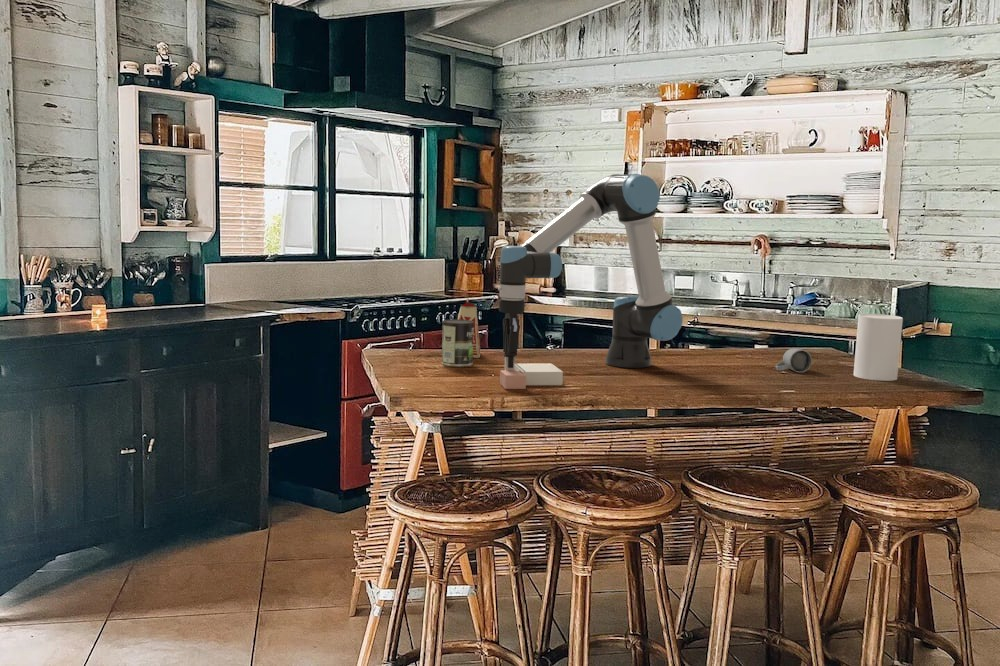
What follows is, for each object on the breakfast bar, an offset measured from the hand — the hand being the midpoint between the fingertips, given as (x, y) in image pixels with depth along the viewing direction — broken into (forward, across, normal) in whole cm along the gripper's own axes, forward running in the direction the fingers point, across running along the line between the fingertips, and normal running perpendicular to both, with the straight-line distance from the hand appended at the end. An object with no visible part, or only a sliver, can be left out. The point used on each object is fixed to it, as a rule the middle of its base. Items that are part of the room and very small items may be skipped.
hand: (509, 377), depth 291 cm
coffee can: (+2, -33, -10) cm, 35 cm away
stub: (+2, +5, 0) cm, 5 cm away
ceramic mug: (+2, -18, +101) cm, 102 cm away
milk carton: (+2, -50, -4) cm, 50 cm away
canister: (+2, -7, +125) cm, 125 cm away
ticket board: (+2, -4, +10) cm, 11 cm away
